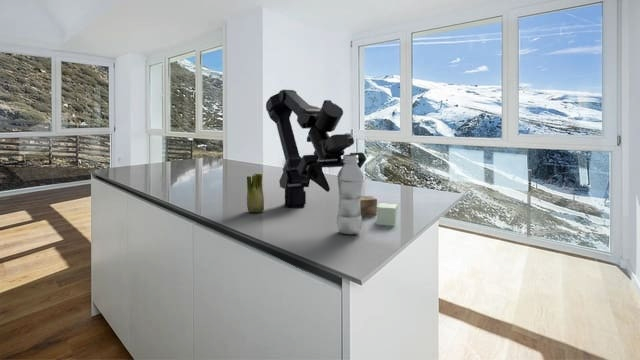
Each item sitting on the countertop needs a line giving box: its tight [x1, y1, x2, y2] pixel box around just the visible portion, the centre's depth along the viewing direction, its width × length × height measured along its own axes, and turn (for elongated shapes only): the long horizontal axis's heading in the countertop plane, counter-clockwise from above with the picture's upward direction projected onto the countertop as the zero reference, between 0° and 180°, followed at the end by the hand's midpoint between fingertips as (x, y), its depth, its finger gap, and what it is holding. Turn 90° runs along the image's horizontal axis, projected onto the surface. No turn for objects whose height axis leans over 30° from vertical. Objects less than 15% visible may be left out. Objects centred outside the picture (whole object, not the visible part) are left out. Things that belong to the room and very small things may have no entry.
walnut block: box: [360, 195, 378, 217], centre depth 112 cm, size 5×5×5 cm
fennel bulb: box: [246, 173, 265, 214], centre depth 112 cm, size 6×5×12 cm
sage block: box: [375, 202, 398, 227], centre depth 102 cm, size 5×5×5 cm
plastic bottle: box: [335, 154, 365, 235], centre depth 92 cm, size 6×7×20 cm
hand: (344, 189), depth 94 cm, fingers open, 9 cm apart
